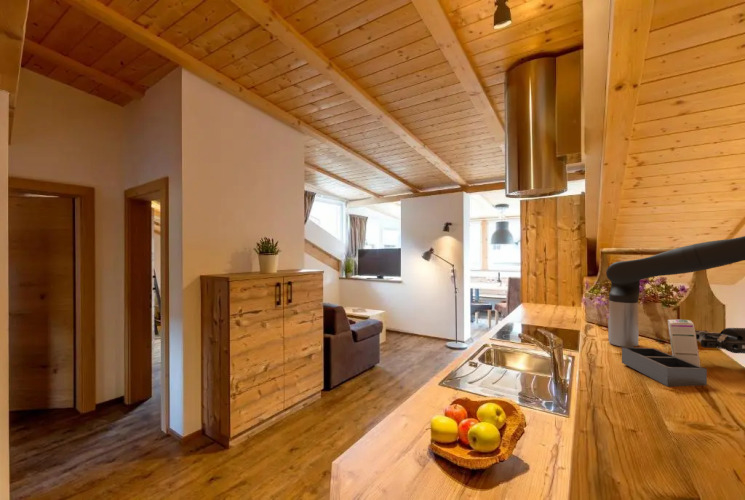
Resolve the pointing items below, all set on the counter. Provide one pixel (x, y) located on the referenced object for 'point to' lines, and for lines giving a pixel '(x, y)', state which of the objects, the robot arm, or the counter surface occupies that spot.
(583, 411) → the counter surface
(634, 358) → the caddy
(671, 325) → the syrup box
